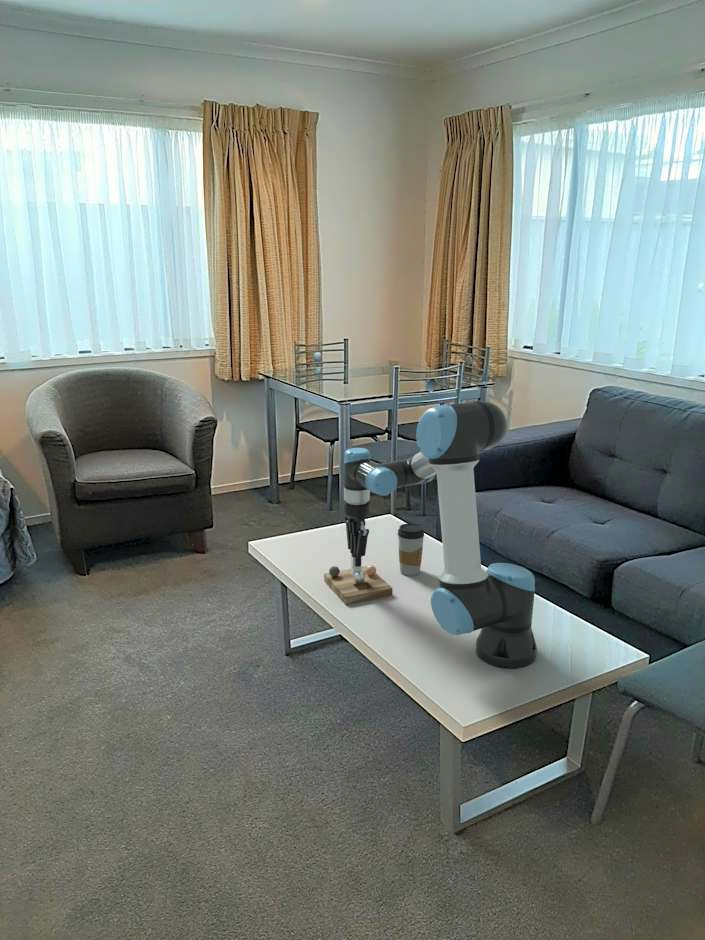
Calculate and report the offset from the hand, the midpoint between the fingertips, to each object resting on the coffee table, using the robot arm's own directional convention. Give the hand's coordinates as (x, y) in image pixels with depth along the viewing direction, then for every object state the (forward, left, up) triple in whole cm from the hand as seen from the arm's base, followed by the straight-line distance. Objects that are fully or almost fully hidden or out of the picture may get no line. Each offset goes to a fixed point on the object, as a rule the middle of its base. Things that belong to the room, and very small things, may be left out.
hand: (356, 574), depth 224 cm
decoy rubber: (+4, +5, 0) cm, 7 cm away
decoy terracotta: (+1, -5, 0) cm, 5 cm away
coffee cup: (+3, -20, -4) cm, 21 cm away
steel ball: (-2, 0, 0) cm, 2 cm away
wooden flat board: (-1, 0, -4) cm, 4 cm away
